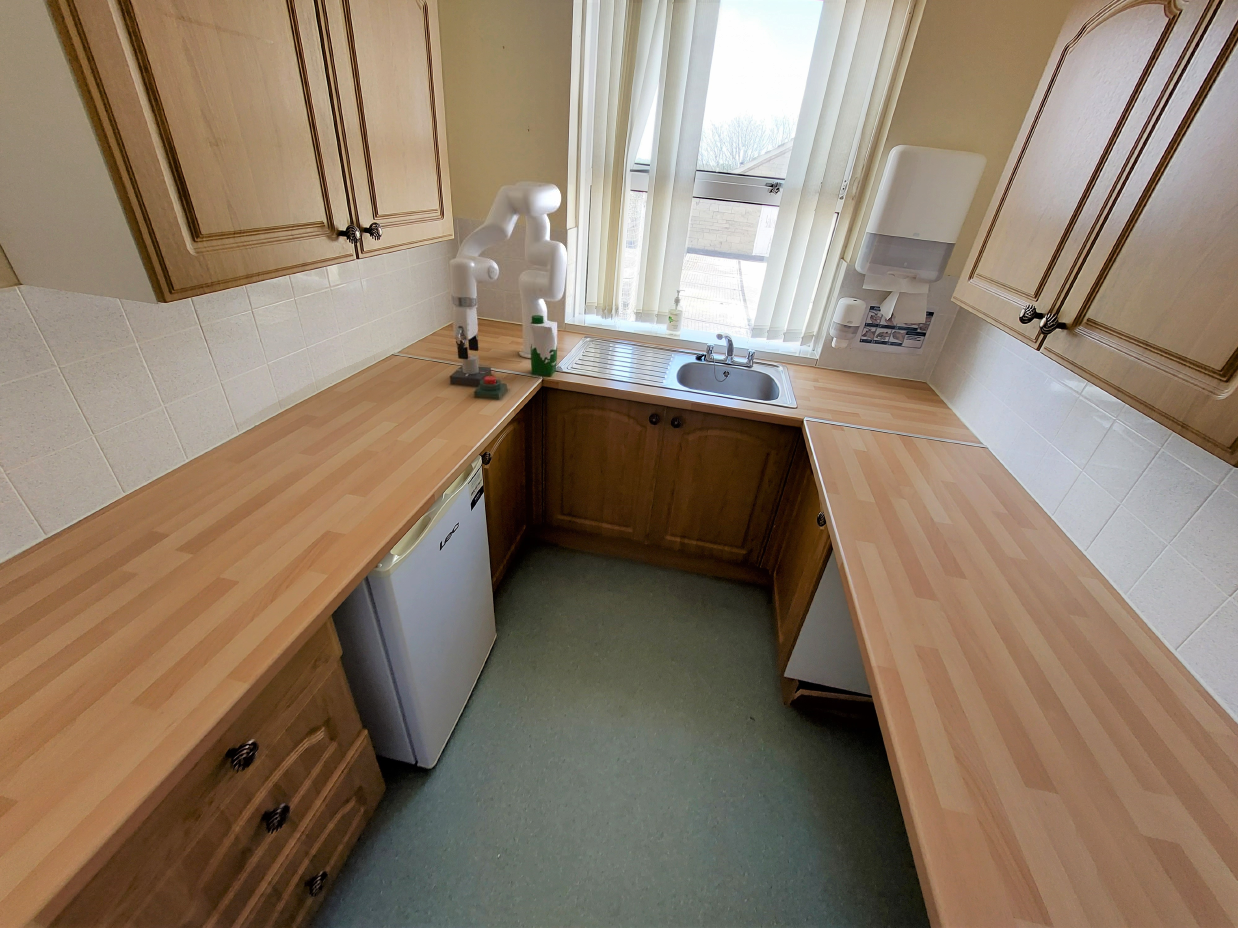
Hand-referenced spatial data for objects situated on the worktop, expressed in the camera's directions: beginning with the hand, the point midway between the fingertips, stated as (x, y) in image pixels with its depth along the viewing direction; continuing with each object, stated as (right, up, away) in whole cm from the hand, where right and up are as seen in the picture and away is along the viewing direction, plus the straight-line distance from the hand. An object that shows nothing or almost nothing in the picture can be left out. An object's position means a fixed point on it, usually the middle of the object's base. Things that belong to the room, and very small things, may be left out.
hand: (468, 354), depth 160 cm
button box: (+9, -14, -4) cm, 17 cm away
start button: (+9, -11, -6) cm, 15 cm away
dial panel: (0, -8, +5) cm, 9 cm away
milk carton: (+23, -3, +16) cm, 28 cm away
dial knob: (0, -5, +3) cm, 6 cm away
